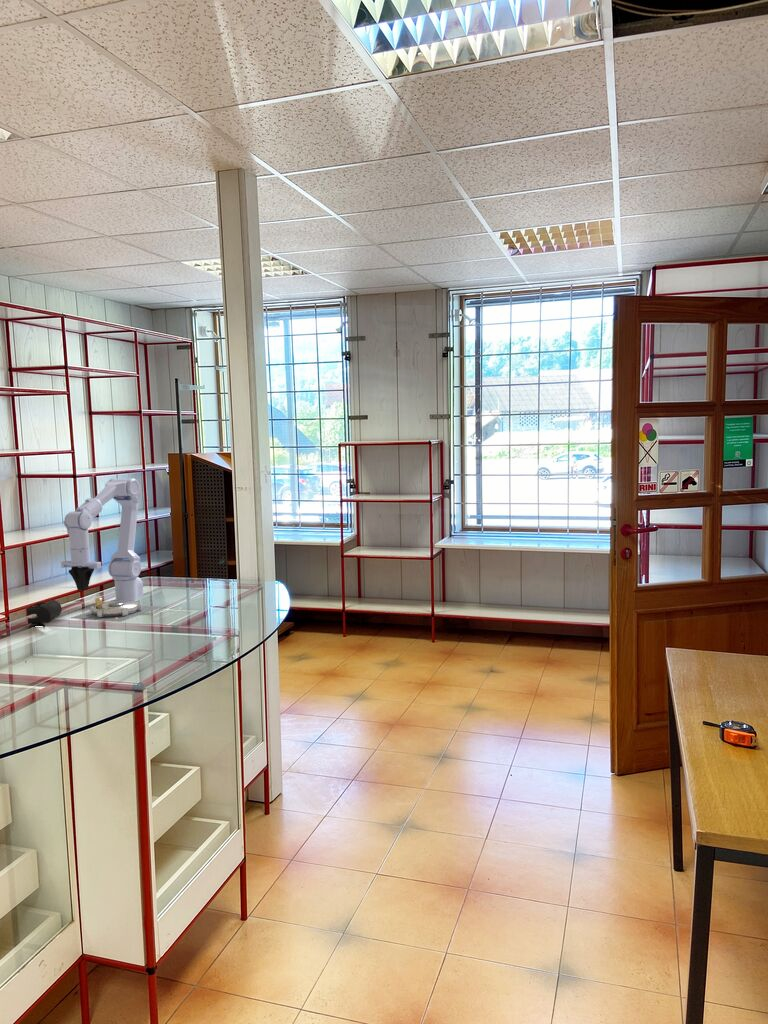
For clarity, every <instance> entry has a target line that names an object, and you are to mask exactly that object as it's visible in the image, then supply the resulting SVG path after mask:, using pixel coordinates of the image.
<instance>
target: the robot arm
mask: <svg viewBox="0 0 768 1024" xmlns="http://www.w3.org/2000/svg"><path fill="white" fill-rule="evenodd" d="M141 488H142V487H141V485H140V483H139V481H138V480H137V479H136V478H110V479H108V481H106V482H105V485H104V487H103V489H102V490H101V491H100V492H99V493H98V494H97V495H95V497H94V498H93V497H91V498H90V497H89V498H86V499H85V500H84V502H83V503H82V504H81V505H79V506H78V507H77V508H76V509H75V510H74V511H69V512H68V513H67V514H66V515H65V517H64V520H63V524H64V527H65V528H66V532H67V533H66V534H67V535H68V536H69V537H68V538H69V552H70V560H63V561H61V562H60V567H61V568H63V569H64V568H70V569H68V573H69V574H70V576H71V577H72V579H73V581H74V584H75V586H76V588H77V591H82V592H83V591H87V590H89V585H90V582H91V578H92V575H93V573H94V571H95V570H98V569H102V562H101V561H95V560H91V551H90V550H91V549H90V537H89V529H90V528H91V526H92V524H93V521H94V519H95V518H96V517H97V516H98V515H99V514H100V513H102V511H103V506H104V505H105V504H108V502H109V501H111V500H112V499H113V500H114V501H116V503H118V504H119V505H120V506H121V513H120V515H121V517H120V524H119V526H120V527H119V532H118V533H119V534H118V545H117V551H115V552H114V553H113V554H112V555H111V558H110V562H109V564H108V566H107V567H108V568H107V570H108V574H109V576H110V577H112V580H114V590H115V591H114V593H115V601H125V600H134V601H136V600H138V599H140V598H141V599H142V598H143V597H144V583H143V580H142V579H141V578H140V577H139V575H140V574H141V571H142V567H141V557H140V556H139V555H138V554H137V553H136V552H135V543H136V542H135V541H136V533H137V532H136V531H137V522H138V521H137V520H138V510H139V503H140V496H141Z"/></svg>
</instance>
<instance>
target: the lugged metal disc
mask: <svg viewBox="0 0 768 1024" xmlns="http://www.w3.org/2000/svg"><path fill="white" fill-rule="evenodd" d="M102 599H103V598H102V597H95V599H94V601H95V604H94V605H93V606H90V611H91V614H93V613H94V615H96V616H97V617H110V616H121V615H122V616H124V615H128V614H131V613H134V612H137V611H138V610H142V606H143V605H142V602H139V601H136V600H125V601H116V600H113V601H111V600H110V601H105V602H103V600H102Z"/></svg>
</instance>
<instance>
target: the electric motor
mask: <svg viewBox="0 0 768 1024" xmlns="http://www.w3.org/2000/svg"><path fill="white" fill-rule="evenodd" d="M62 608H63V607H62V605H61V604H60V602H59V601H57V600H54V599H50V600H48V601H45V602H44V601H42V602H36V603H34V605H33V606H32V605H31V606H29V607H28V608H26V615H36V617H28V618H27V624H29V625H28V628H29V627H35V626H44V627H46V626H45V625H46V624H47V623H50V622H51V621H53V620H54V619H55V618H58V617H59V616H60V615H61V613H62Z"/></svg>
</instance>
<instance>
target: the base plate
mask: <svg viewBox="0 0 768 1024" xmlns="http://www.w3.org/2000/svg"><path fill="white" fill-rule="evenodd" d="M160 608H161V606H152V605H142V610H138V611H137V612H134V613H131V614H128V615H124V616H122V615H121V616H110V617H97V616H96V615H94V613H93V614H91V610H89V611H88V612H84V613H81V614H77V615H74V616H71V617H70V619H77V620H89V621H90V620H92V621H106V622H124V621H127V620H129V619H132V618H134V617H137V616H140V615H144V614H146V613H149V612H151V611H154V610H157V609H160Z"/></svg>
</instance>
